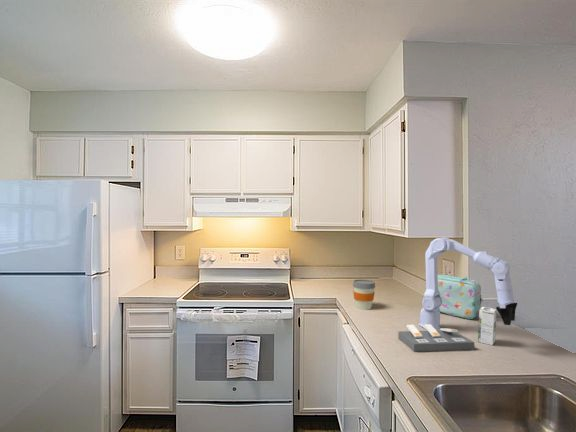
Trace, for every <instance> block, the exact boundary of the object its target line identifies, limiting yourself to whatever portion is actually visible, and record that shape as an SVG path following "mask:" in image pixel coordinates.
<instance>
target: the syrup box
mask: <svg viewBox="0 0 576 432" xmlns="http://www.w3.org/2000/svg"><path fill="white" fill-rule="evenodd" d="M497 312H498V311H497V309H496V308H492V307H487V306H482V307H481V308H480V310H479V314H478V329H477V330H478V332H477V333H478V335H477V342H478V343H480V344H485V345H490V346H494V344H495V342H496V329H497V328H496V327H497Z"/></svg>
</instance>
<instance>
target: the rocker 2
mask: <svg viewBox="0 0 576 432" xmlns="http://www.w3.org/2000/svg"><path fill="white" fill-rule="evenodd" d="M440 329H441V331H448V332H458V333H459V329H456V328H444V327H440Z"/></svg>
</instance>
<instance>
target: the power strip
mask: <svg viewBox="0 0 576 432" xmlns="http://www.w3.org/2000/svg"><path fill="white" fill-rule="evenodd" d="M418 331H419V332H420V333H421V335H422V336H423V337H422V338H415V337H414V336H413V334H412V333H411V332H410V330H406V331H405V330H403V331H402V330H401V331H398V332H397V333H398V336H397V339H399V341H401V342H402V343H403V344H404V345H406V347H408V348H409V349H410V350H411V351H413V352H414V353H415V352H416V353H417V352H418V353H419V352H441V351H442V352H446V351H470V350H471V351H472V350H473V351H474V350H475V341H472V340H471V339H469V338H467V337H466V336H465V335H463V334H461V333H459V331H458V332H448V331H441V330H436V331H437V332H438V333H439V334H440V335H441V336H440V337H432V335H431V334H430V333H429V332H428V331H427V330H418Z"/></svg>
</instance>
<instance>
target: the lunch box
mask: <svg viewBox="0 0 576 432" xmlns="http://www.w3.org/2000/svg"><path fill="white" fill-rule="evenodd" d="M467 278H468V277H466V276H465V277H458V276H452V275H446V274H438V290H439V292H440V297H441V299H442V305H441V306H440V313H443V314H446V315H449V316H451V317H458V318H462V319H468V320H473V319H475V318H476V315H477V314H478V313H479V310H480V309H481V308H482V307H481V305H482V303H484V299H483V297H482V293H481V292H482V288H481V284H480V282H478V281H477V280H476V279H473V280H469V279H470V278H469V279H467ZM478 315H479V314H478ZM478 315H477V316H478Z"/></svg>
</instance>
